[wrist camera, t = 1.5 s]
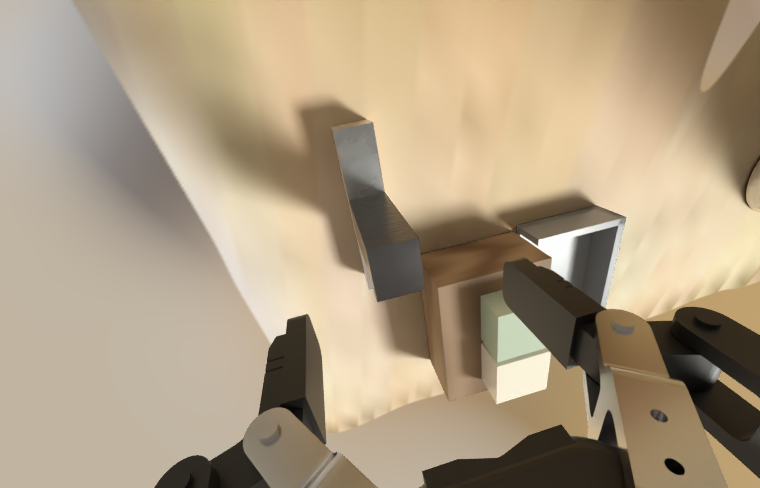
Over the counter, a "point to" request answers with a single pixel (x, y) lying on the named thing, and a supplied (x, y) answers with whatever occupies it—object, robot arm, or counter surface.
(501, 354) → the sage tile
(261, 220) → the counter surface
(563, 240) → the grey tray
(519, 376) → the cream tile
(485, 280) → the walnut riser
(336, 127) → the grey l-shaped bracket
